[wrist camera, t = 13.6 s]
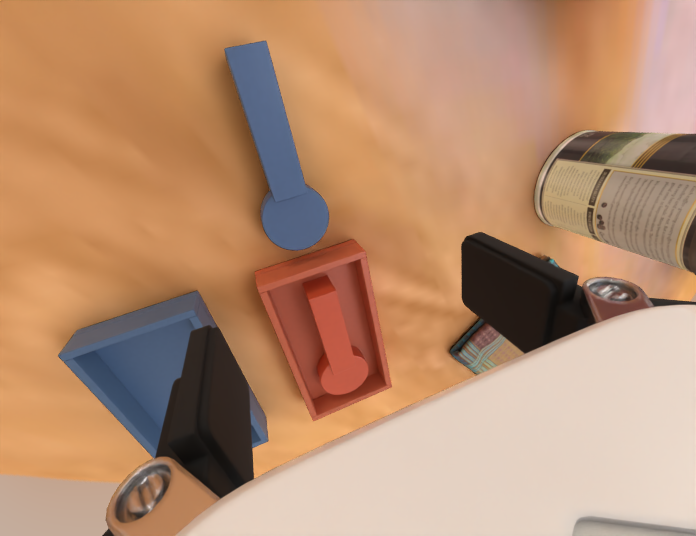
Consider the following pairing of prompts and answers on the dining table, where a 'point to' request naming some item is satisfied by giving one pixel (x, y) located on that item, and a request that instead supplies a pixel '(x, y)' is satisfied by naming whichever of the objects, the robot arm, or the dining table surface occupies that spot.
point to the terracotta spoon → (334, 340)
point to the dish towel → (486, 345)
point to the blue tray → (144, 364)
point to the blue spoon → (276, 152)
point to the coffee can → (625, 192)
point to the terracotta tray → (300, 330)
